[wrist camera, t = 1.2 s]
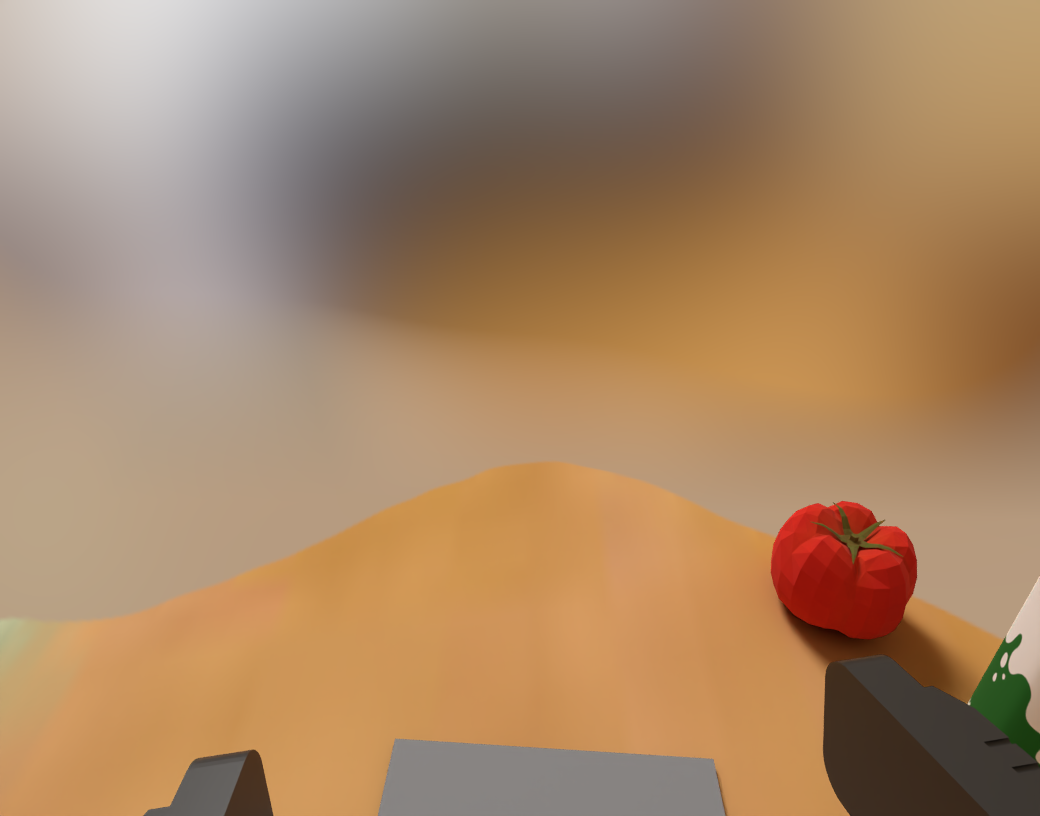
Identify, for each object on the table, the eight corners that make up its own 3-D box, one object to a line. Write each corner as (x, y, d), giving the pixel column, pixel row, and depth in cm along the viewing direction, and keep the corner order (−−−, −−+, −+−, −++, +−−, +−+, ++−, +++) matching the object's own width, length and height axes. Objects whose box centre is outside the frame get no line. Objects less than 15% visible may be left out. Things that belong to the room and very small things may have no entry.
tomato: (744, 568, 52) (764, 490, 48) (849, 559, 53) (878, 483, 49) (805, 669, 44) (836, 584, 40) (928, 655, 45) (969, 573, 41)
